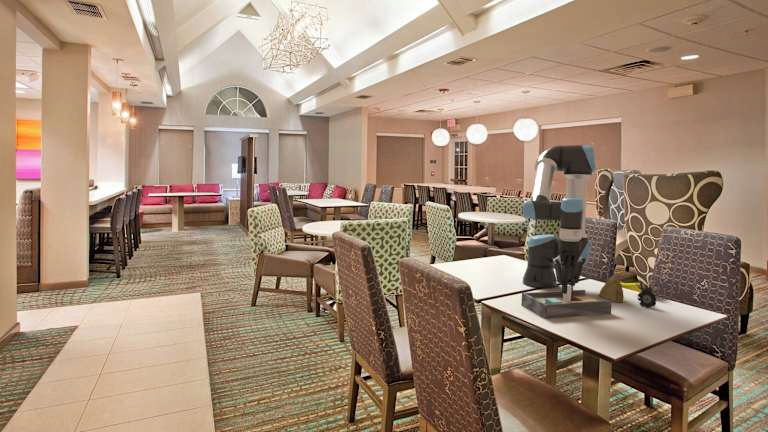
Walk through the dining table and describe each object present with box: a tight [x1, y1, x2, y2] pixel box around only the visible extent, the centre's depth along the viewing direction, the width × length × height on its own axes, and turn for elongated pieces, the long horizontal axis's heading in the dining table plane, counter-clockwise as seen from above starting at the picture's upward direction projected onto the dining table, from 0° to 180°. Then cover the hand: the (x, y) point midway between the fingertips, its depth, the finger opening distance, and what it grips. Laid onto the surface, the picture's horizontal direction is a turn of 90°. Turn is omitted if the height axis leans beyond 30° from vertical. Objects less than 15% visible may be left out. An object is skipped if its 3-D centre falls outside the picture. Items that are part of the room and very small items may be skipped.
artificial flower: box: [635, 278, 659, 308], centre depth 187 cm, size 9×22×10 cm, turn 142°
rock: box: [598, 274, 625, 303], centre depth 188 cm, size 11×9×10 cm
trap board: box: [520, 289, 613, 319], centre depth 173 cm, size 16×28×5 cm, turn 103°
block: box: [545, 298, 563, 304], centre depth 168 cm, size 5×5×4 cm
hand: (566, 301), depth 169 cm, fingers closed
